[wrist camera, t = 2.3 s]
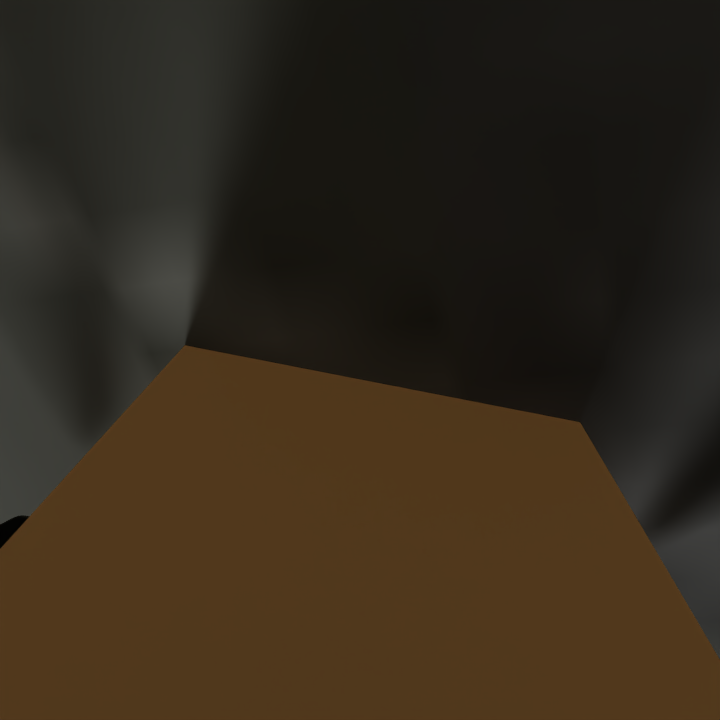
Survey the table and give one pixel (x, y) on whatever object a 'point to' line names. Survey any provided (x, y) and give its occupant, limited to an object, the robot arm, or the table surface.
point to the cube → (340, 565)
